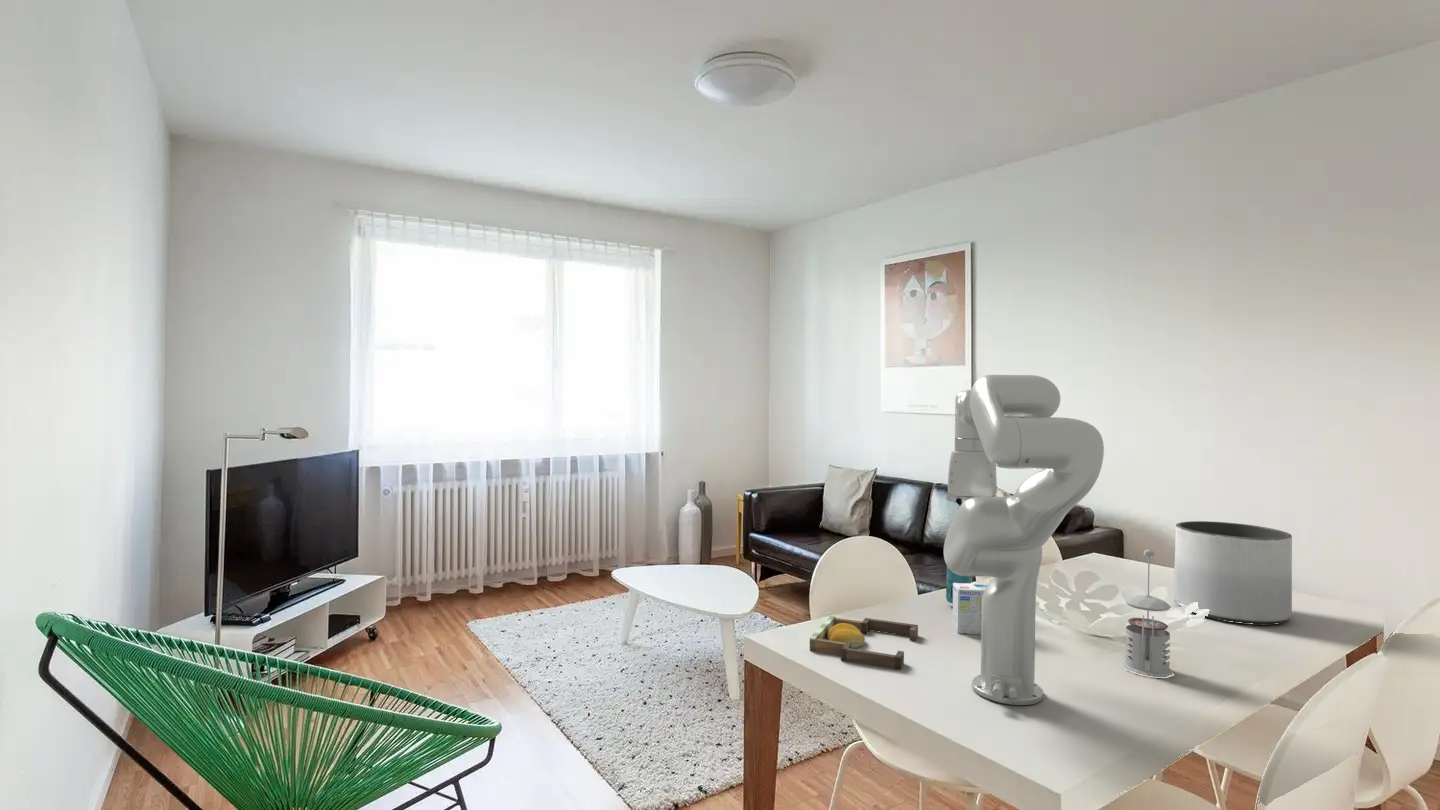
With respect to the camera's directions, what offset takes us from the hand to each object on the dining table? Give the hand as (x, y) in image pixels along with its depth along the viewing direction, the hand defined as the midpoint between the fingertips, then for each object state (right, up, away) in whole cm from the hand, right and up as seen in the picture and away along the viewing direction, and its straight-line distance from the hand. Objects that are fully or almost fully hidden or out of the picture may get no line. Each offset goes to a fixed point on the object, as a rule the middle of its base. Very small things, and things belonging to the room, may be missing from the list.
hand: (971, 528), depth 159 cm
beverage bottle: (+8, -27, +32) cm, 43 cm away
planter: (+79, -28, +30) cm, 89 cm away
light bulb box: (+6, -27, +13) cm, 31 cm away
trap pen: (-23, -27, +2) cm, 36 cm away
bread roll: (-27, -27, +4) cm, 39 cm away
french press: (+32, -28, -12) cm, 44 cm away
